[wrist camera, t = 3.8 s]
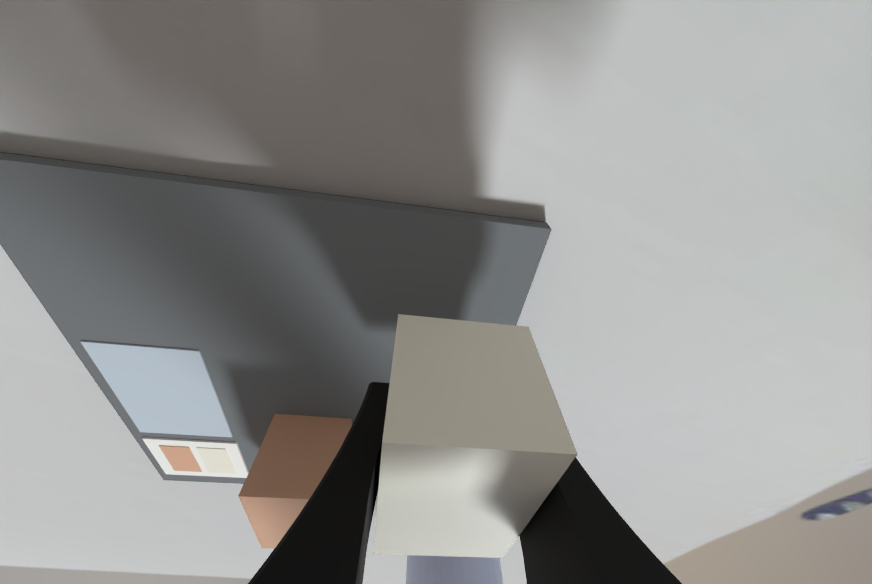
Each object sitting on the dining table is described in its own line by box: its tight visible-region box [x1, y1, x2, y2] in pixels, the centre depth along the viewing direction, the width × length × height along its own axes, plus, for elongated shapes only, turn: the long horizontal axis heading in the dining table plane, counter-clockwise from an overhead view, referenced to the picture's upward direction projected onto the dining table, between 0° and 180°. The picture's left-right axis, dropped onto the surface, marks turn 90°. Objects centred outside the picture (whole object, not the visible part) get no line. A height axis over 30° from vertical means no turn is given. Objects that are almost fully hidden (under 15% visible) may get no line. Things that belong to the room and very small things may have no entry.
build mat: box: [0, 152, 551, 487], centre depth 16 cm, size 20×19×1 cm
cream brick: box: [373, 314, 577, 558], centre depth 10 cm, size 6×4×4 cm, turn 172°
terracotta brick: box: [238, 414, 352, 548], centre depth 17 cm, size 6×4×4 cm, turn 172°
